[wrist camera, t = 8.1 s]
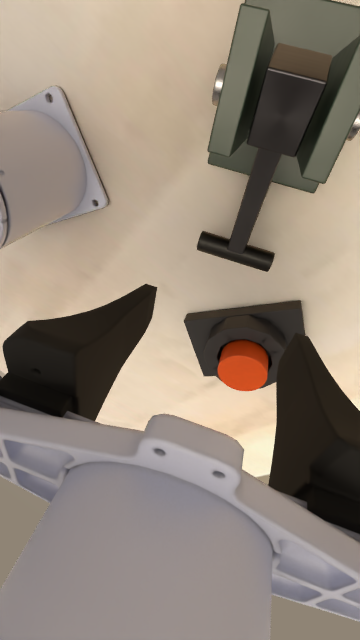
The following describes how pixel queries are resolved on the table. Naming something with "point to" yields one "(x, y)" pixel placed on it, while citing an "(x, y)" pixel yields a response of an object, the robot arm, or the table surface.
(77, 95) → the table surface
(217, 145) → the bracket
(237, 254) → the lever
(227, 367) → the button
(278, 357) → the button box
